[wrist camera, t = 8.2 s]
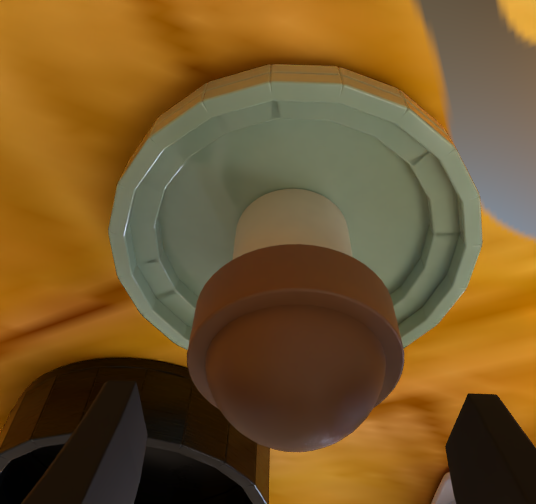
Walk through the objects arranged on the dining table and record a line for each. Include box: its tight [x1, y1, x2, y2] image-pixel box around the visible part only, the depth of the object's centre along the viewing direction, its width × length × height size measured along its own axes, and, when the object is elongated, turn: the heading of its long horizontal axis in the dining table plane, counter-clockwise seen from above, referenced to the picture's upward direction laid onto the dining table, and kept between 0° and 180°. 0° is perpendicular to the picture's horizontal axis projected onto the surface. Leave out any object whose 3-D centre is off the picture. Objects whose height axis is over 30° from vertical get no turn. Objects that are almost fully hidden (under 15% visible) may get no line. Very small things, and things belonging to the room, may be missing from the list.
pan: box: [0, 358, 270, 504], centre depth 24 cm, size 12×12×4 cm
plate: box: [108, 64, 482, 350], centre depth 16 cm, size 11×11×2 cm
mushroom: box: [187, 189, 404, 452], centre depth 14 cm, size 5×5×7 cm
